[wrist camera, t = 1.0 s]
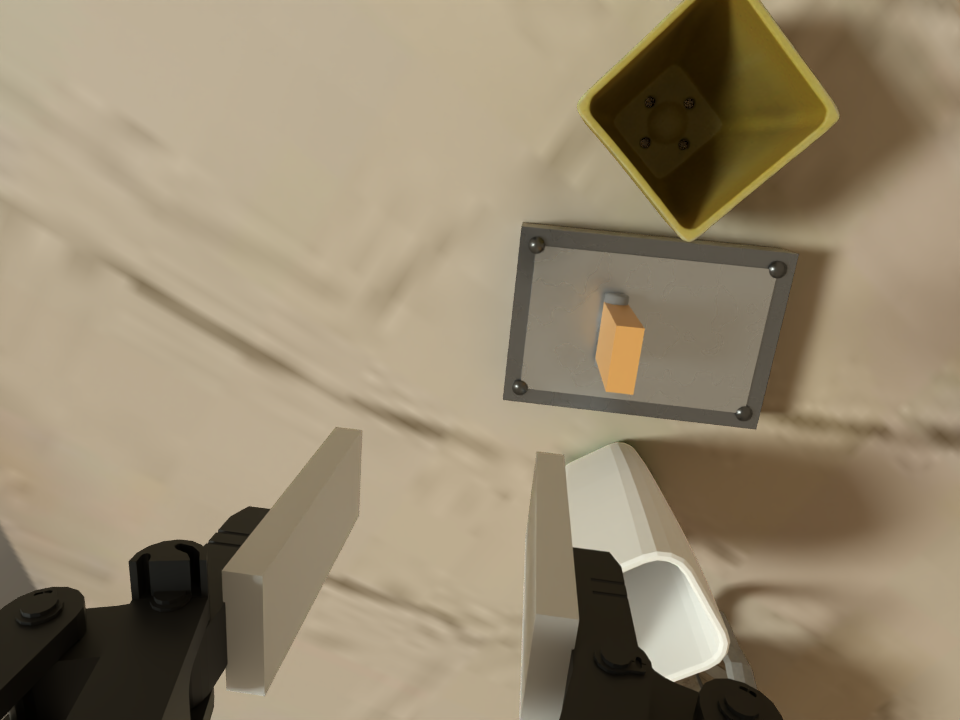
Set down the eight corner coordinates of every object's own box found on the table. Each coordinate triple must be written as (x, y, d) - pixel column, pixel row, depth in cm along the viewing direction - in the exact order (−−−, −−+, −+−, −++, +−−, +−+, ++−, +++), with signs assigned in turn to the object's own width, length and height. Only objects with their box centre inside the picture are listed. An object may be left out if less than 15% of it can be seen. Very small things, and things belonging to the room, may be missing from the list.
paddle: (604, 291, 37) (617, 316, 30) (627, 294, 37) (646, 319, 30) (593, 361, 38) (604, 399, 32) (616, 364, 38) (631, 403, 32)
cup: (585, 542, 46) (606, 709, 31) (537, 463, 44) (537, 600, 30) (677, 502, 44) (743, 659, 30) (631, 418, 42) (677, 541, 28)
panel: (522, 222, 39) (521, 226, 36) (779, 247, 38) (800, 254, 35) (505, 384, 42) (502, 400, 39) (741, 411, 42) (757, 430, 38)
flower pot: (774, 129, 36) (847, 116, 28) (654, 230, 39) (688, 246, 30) (682, 8, 35) (729, -45, 26) (563, 120, 37) (572, 104, 29)
